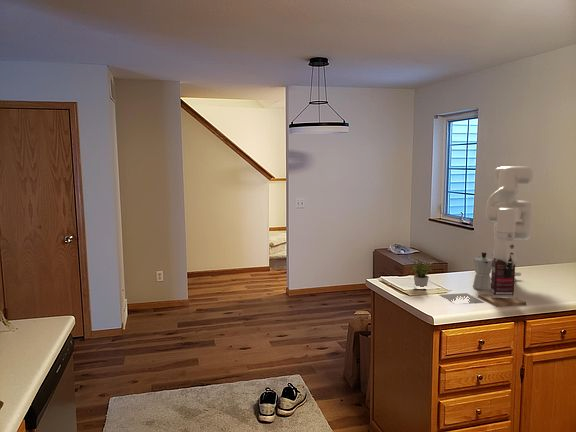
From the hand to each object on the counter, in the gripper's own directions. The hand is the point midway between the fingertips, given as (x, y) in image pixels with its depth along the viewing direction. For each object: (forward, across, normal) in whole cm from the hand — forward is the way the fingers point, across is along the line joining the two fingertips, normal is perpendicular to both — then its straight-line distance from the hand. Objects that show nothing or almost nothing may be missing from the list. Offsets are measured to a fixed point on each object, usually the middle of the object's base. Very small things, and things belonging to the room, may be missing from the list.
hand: (502, 275), depth 195 cm
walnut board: (+12, 0, 0) cm, 12 cm away
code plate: (+12, +6, +16) cm, 21 cm away
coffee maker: (+12, +21, -4) cm, 24 cm away
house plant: (+12, +25, +28) cm, 39 cm away
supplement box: (+10, 0, 0) cm, 10 cm away
